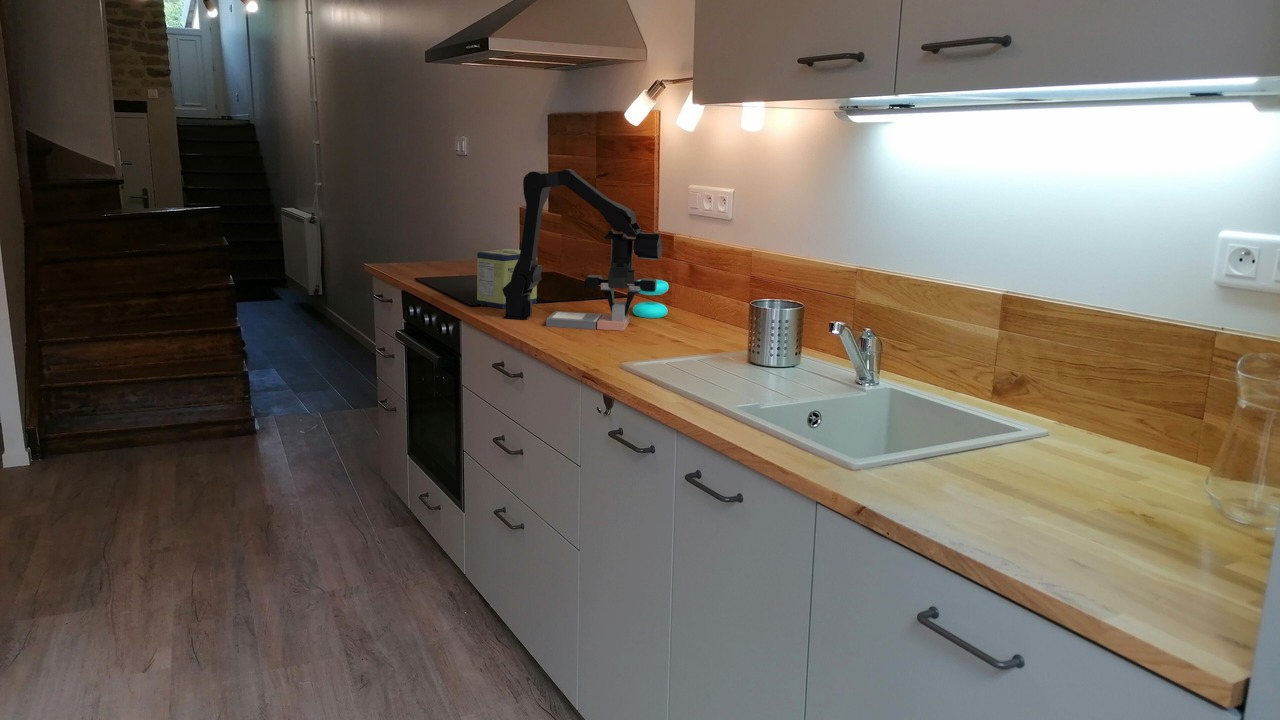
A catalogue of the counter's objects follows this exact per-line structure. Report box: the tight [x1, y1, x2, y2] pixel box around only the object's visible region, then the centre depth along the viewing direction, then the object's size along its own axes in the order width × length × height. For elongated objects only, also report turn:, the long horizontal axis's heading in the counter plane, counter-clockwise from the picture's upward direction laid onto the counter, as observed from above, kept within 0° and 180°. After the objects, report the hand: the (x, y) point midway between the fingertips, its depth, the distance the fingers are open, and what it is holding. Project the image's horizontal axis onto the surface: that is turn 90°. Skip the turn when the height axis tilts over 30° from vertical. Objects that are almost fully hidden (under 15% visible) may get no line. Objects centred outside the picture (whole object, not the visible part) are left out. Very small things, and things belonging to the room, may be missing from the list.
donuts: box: [632, 279, 670, 319], centre depth 266 cm, size 10×10×10 cm
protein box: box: [476, 248, 538, 310], centre depth 275 cm, size 10×16×16 cm
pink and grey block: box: [596, 300, 630, 332], centre depth 249 cm, size 7×12×6 cm, turn 174°
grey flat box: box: [545, 310, 604, 330], centre depth 251 cm, size 13×12×2 cm
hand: (619, 315), depth 249 cm, fingers closed on pink and grey block, 3 cm apart
